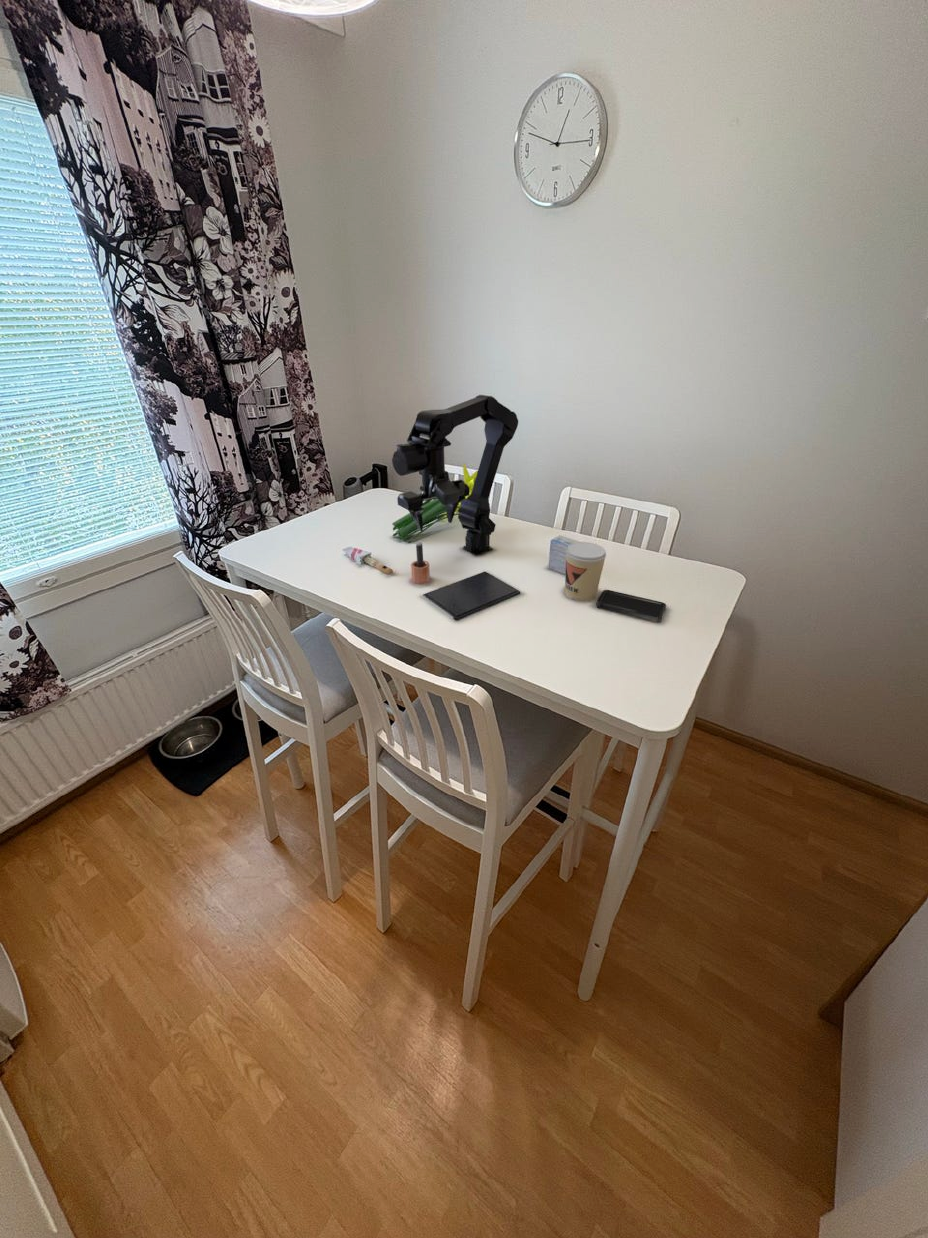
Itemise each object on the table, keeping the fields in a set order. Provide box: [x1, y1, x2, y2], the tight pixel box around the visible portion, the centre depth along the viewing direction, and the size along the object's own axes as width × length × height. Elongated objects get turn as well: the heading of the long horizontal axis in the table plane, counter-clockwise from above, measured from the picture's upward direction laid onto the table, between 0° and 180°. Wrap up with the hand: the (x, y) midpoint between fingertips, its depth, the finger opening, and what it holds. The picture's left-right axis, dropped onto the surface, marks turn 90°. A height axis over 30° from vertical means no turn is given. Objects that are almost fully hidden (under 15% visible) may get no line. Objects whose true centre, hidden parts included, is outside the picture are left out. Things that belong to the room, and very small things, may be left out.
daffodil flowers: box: [391, 461, 478, 543], centre depth 156 cm, size 17×15×35 cm
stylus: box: [415, 541, 424, 567], centre depth 125 cm, size 2×2×10 cm
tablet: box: [422, 571, 521, 622], centre depth 122 cm, size 20×14×1 cm
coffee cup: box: [564, 541, 607, 602], centre depth 119 cm, size 9×9×12 cm
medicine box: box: [547, 534, 581, 575], centre depth 131 cm, size 8×4×9 cm, turn 47°
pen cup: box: [410, 560, 431, 585], centre depth 127 cm, size 5×5×5 cm
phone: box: [595, 589, 667, 623], centre depth 116 cm, size 8×1×15 cm
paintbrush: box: [342, 546, 393, 575], centre depth 137 cm, size 4×3×20 cm
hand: (435, 526), depth 129 cm, fingers open, 9 cm apart
